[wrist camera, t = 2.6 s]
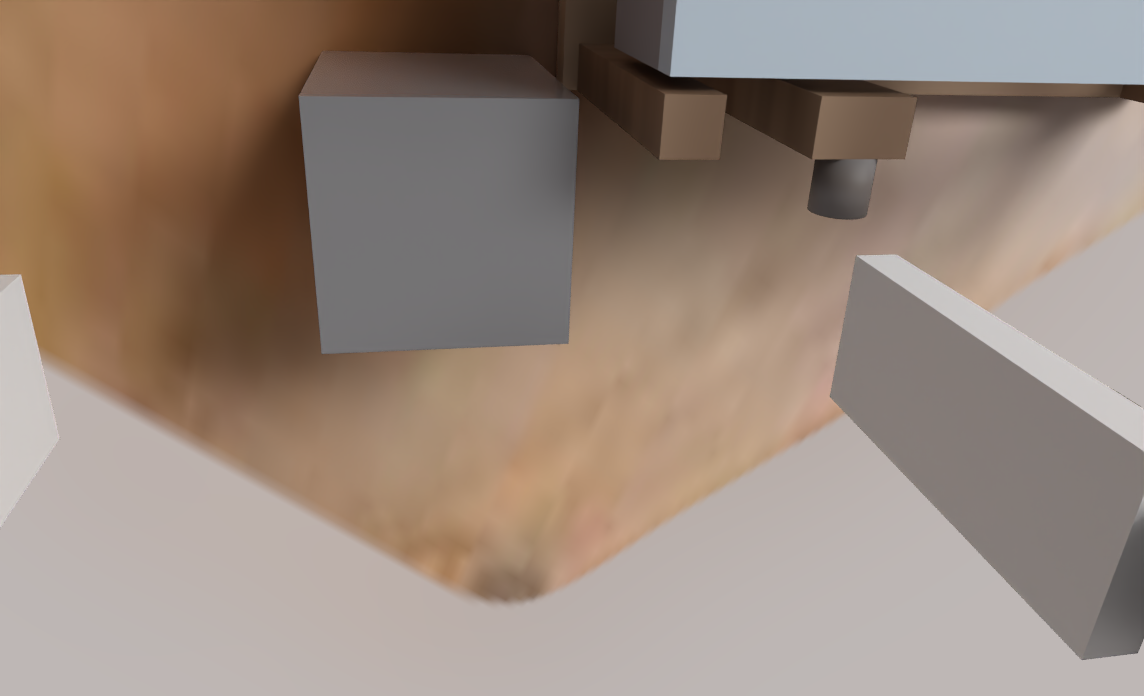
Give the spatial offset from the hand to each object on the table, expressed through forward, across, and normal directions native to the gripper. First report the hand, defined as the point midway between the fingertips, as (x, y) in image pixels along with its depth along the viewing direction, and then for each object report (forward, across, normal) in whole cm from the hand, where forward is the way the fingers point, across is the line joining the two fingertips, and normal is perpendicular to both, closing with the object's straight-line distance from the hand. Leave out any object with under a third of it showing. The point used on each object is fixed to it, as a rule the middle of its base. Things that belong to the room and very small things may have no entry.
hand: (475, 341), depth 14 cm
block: (+12, 0, 0) cm, 12 cm away
